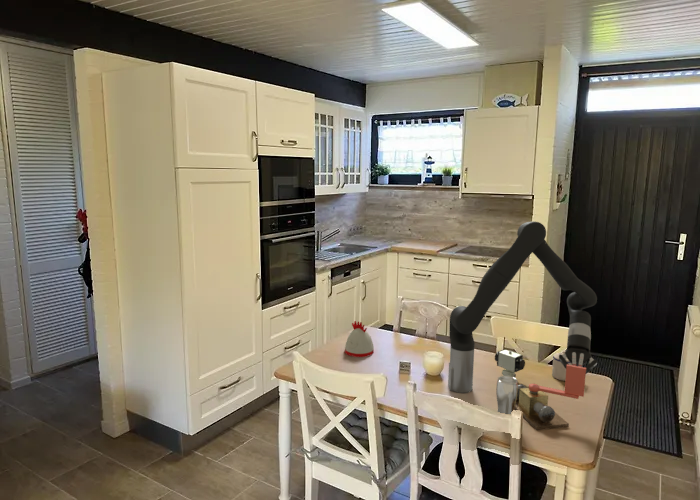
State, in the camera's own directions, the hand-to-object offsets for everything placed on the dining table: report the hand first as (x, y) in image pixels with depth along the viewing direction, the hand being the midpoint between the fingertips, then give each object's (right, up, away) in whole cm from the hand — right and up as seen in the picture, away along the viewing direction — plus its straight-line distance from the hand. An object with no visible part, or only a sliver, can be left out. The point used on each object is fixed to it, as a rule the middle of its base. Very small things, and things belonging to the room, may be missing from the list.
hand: (576, 383), depth 166 cm
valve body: (-12, -13, +8) cm, 19 cm away
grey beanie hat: (-74, -3, +66) cm, 99 cm away
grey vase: (-24, -14, +3) cm, 28 cm away
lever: (-6, -4, +3) cm, 8 cm away
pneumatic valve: (-11, -8, +37) cm, 40 cm away
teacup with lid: (+13, -8, +39) cm, 42 cm away
